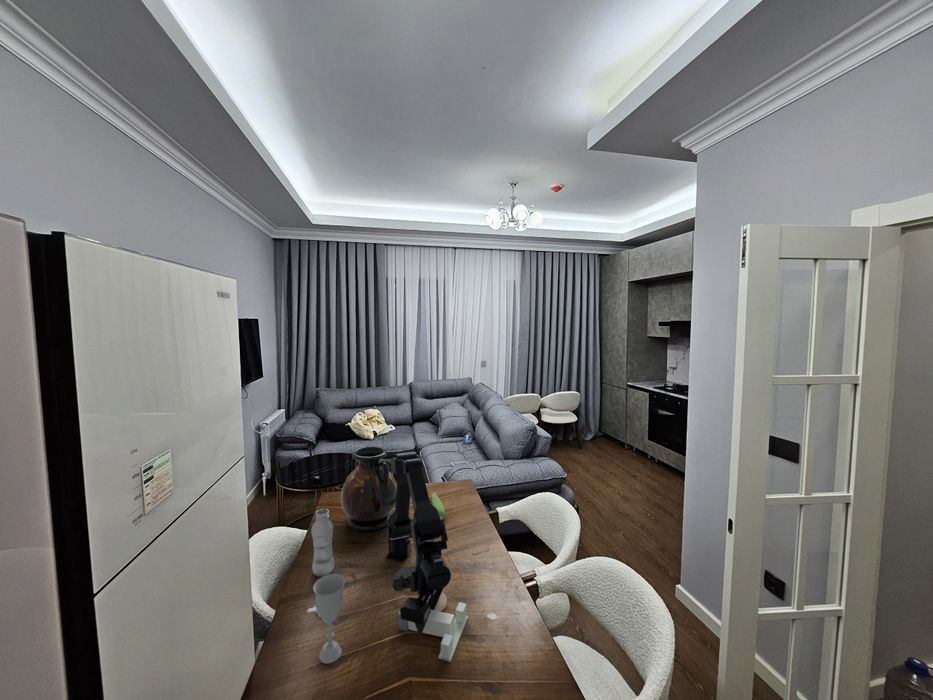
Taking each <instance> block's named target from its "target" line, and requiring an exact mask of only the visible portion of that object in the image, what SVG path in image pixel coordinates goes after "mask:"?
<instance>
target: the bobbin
mask: <svg viewBox="0 0 933 700" xmlns="http://www.w3.org/2000/svg"><path fill="white" fill-rule="evenodd" d="M447 601H448V599H447V595H446V594H445V593H444V592H443V591H442V593H441V596H440V598H439V600H438V602H437V605H436V607H435V609H434V611H439V612H443V611H444V610H445V608H446V607H447V605H448V604H447V603H448V602H447ZM427 603H428V602H427Z"/></svg>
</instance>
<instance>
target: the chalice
mask: <svg viewBox="0 0 933 700" xmlns="http://www.w3.org/2000/svg"><path fill="white" fill-rule="evenodd" d="M345 583H346V577H344V576H343V575H342V574H339V573H330V574H328V575H326V576H323V577H319V578H318V580H316V581H315V583H314V584H313V586H312V589H313V592H314V594H315V605H316V609H317V612H318V613H317V615H318V614H319V616H320V617H319V616H318V617H319V618H321V620H322V622H323V623H325V624H327V627H326V631H327V634H326V635H325V636H326V639H327V641H326V642H325V643H324V645H323V646H322V648H321V650H320V653H319V654H318V655H319V656H318V659H319V661H320V662H321V663H323V664H332V663H335V662H337V660H338V659H339V658H340V657H341V656H342V652H343V651H342V648H341V647H340V645H339V642H338V641H336V640H334V639H333V638H334V636H335V632H333V629H334V628H335V627H334V625H333V622H335V621H336V619H337V618H338V615H339V613H340V610H341V609H342V607H343V601H344V585H345Z"/></svg>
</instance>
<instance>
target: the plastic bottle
mask: <svg viewBox="0 0 933 700" xmlns="http://www.w3.org/2000/svg"><path fill="white" fill-rule="evenodd" d="M329 513H330V512H329V509H327V508H321V509H318V510H316V512H315V521H314V522H313V524H312V527H311V530H310V531H311V537H312V541H313V543H312V545H313V560H312V565H311V569H312V573H313V574H314V575H315V576H316V577H319V578H322V577H323V576H326V575H329V574H332V571H333V570H334V569H335V558H334V553H333V534H334V528H335V527H334V524H333V521H332V520H331V519H330V514H329Z"/></svg>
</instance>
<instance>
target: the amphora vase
mask: <svg viewBox="0 0 933 700" xmlns="http://www.w3.org/2000/svg"><path fill="white" fill-rule="evenodd" d="M387 455H388V452H387V449H386V448H384V447H381V446H364V447H360V448H357V449H355V450H354V451H353V452H352V454H351V456H352V458H351V472H350V474H349V475H348V476H347V477H346V480H345V481H344V483H343V486H342V488H341V492H340V493H341V494H340V503H341V505H340V506H341V508H342V511H343V512H344V513H345V515H346V516H347V517H348V518H347V522H348V525H349V526H350V528H352V529H354V530H355V531H356V530H357V531H360V532H371V531H372V532H373V531H377V530H380V529H382V528H384V527H386V526H387V524H389V517H390V516H391V515H392V513H393V512H394V511H393V510H395V503H396V490H397V481H396V480H395V477H394V475H393V474H392V472H391V471H390V468H389V465H388V463H387V462H385V461H382V459H384V458H385V457H386V456H387Z"/></svg>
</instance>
